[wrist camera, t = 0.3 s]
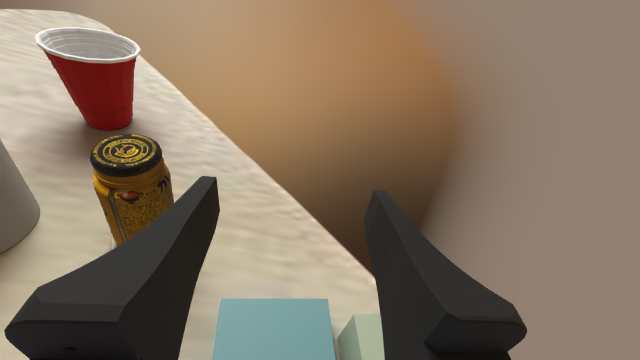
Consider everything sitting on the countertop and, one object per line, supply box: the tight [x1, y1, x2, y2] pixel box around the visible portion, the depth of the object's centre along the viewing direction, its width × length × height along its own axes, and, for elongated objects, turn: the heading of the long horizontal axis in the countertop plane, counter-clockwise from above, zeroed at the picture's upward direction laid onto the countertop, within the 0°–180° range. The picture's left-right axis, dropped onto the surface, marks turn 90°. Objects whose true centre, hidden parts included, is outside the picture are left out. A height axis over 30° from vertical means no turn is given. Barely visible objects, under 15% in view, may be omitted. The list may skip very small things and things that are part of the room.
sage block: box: [337, 314, 385, 360], centre depth 26 cm, size 5×5×6 cm
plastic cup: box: [35, 27, 140, 130], centre depth 42 cm, size 11×11×12 cm
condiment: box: [90, 134, 174, 250], centre depth 29 cm, size 7×8×12 cm
